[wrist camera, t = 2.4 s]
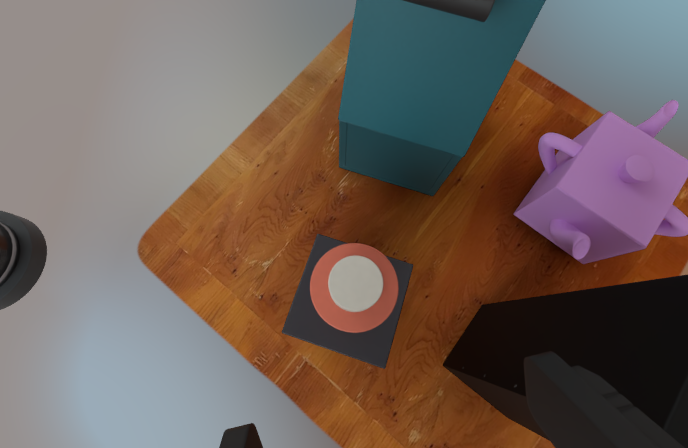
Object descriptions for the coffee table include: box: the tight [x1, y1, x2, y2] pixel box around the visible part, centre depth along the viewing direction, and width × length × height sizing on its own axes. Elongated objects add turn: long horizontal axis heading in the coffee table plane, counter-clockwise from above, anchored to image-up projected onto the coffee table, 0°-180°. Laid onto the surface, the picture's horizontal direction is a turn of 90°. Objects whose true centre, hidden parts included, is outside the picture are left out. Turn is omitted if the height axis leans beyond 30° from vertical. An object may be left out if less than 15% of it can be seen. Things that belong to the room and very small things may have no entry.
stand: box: [282, 234, 413, 369], centre depth 30 cm, size 7×7×14 cm
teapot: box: [514, 100, 688, 264], centre depth 35 cm, size 15×13×11 cm
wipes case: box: [339, 120, 462, 196], centre depth 38 cm, size 14×12×10 cm
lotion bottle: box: [310, 243, 399, 333], centre depth 19 cm, size 4×4×8 cm
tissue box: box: [443, 275, 688, 448], centre depth 22 cm, size 8×8×28 cm
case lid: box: [338, 0, 546, 157], centre depth 24 cm, size 14×12×5 cm
